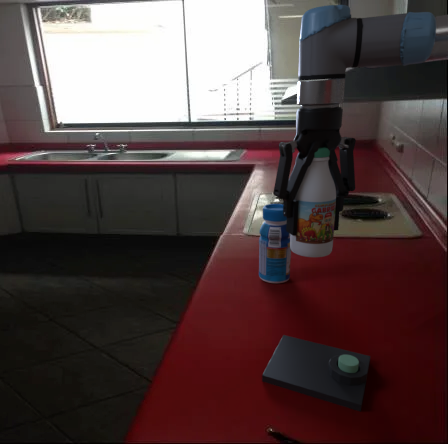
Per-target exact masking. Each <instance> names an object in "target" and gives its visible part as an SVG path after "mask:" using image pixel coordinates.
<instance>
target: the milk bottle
mask: <svg viewBox="0 0 448 444" xmlns="http://www.w3.org/2000/svg"><path fill="white" fill-rule="evenodd" d="M329 155H330V151H329V150H328V148H326V147H323V148H319V149H318V151H317V152H315V155H314V159H313V161H312V163H311V165H310V166H309V167H308V169H307V171H306V173H305V176H304V178H303V180H302V183H301V185H300V187H299V190H298V192H297V194H296V197H295V200H297V201H299V202H298V221H297V235H294V236H293V235H291V234H290V248H291V253H294V254H295V255H298V256H301V257H305V258H323V257H327V256H329V255H330V254H331V253H332V252H333V246H334V236H335V235H334V234H335V230H334V223H335V209H336V188H335V184H334V181H333V179H332V176H331V173H330V170H329V166H328V160H329V159H330V158H329V157H328V156H329ZM321 157H324V158H321ZM303 159H304V158H303ZM304 160H305V159H304Z"/></svg>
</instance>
